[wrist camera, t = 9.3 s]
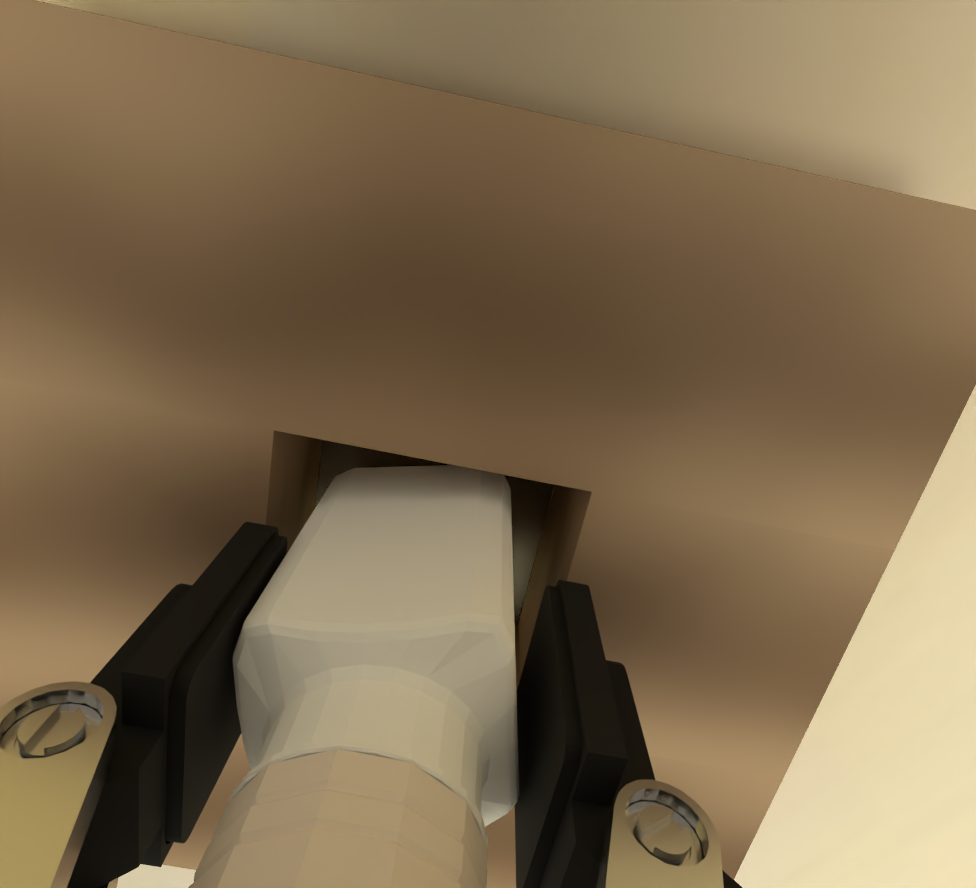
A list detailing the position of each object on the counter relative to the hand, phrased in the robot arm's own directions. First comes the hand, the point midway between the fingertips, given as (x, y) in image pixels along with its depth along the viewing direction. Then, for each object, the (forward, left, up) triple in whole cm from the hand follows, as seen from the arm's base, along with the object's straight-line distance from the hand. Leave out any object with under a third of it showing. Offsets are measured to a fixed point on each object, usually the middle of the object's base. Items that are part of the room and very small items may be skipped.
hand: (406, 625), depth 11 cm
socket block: (0, 0, -5) cm, 5 cm away
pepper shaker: (0, 0, -4) cm, 4 cm away
